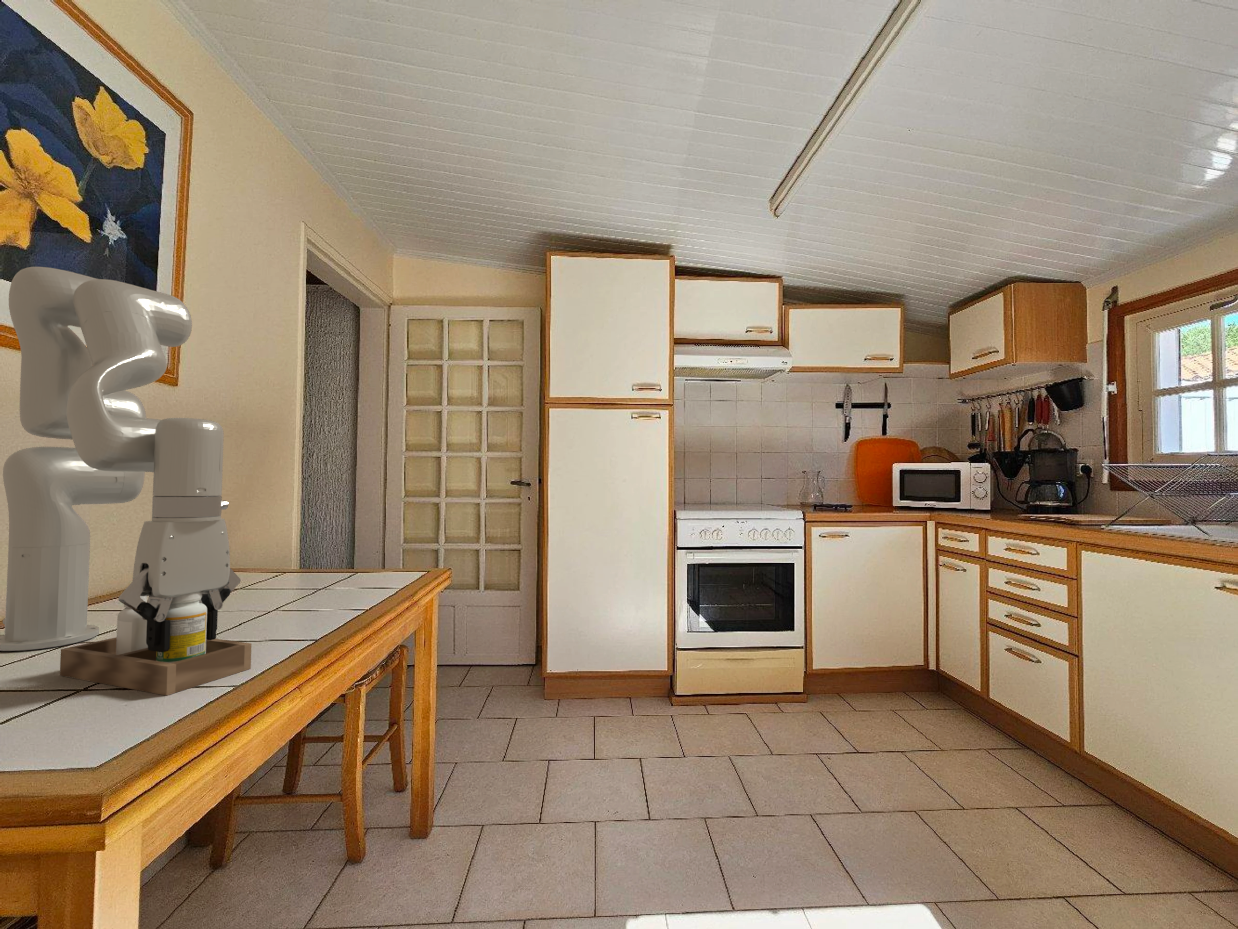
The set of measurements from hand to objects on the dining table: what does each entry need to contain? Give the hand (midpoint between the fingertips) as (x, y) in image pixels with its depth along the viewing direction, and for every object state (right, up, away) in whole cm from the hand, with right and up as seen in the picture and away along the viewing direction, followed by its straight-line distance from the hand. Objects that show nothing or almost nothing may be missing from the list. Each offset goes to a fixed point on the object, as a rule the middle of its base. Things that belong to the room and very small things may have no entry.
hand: (182, 643), depth 78 cm
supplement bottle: (0, -3, 0) cm, 3 cm away
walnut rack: (-5, -4, +1) cm, 6 cm away
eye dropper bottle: (-9, -5, +3) cm, 11 cm away
